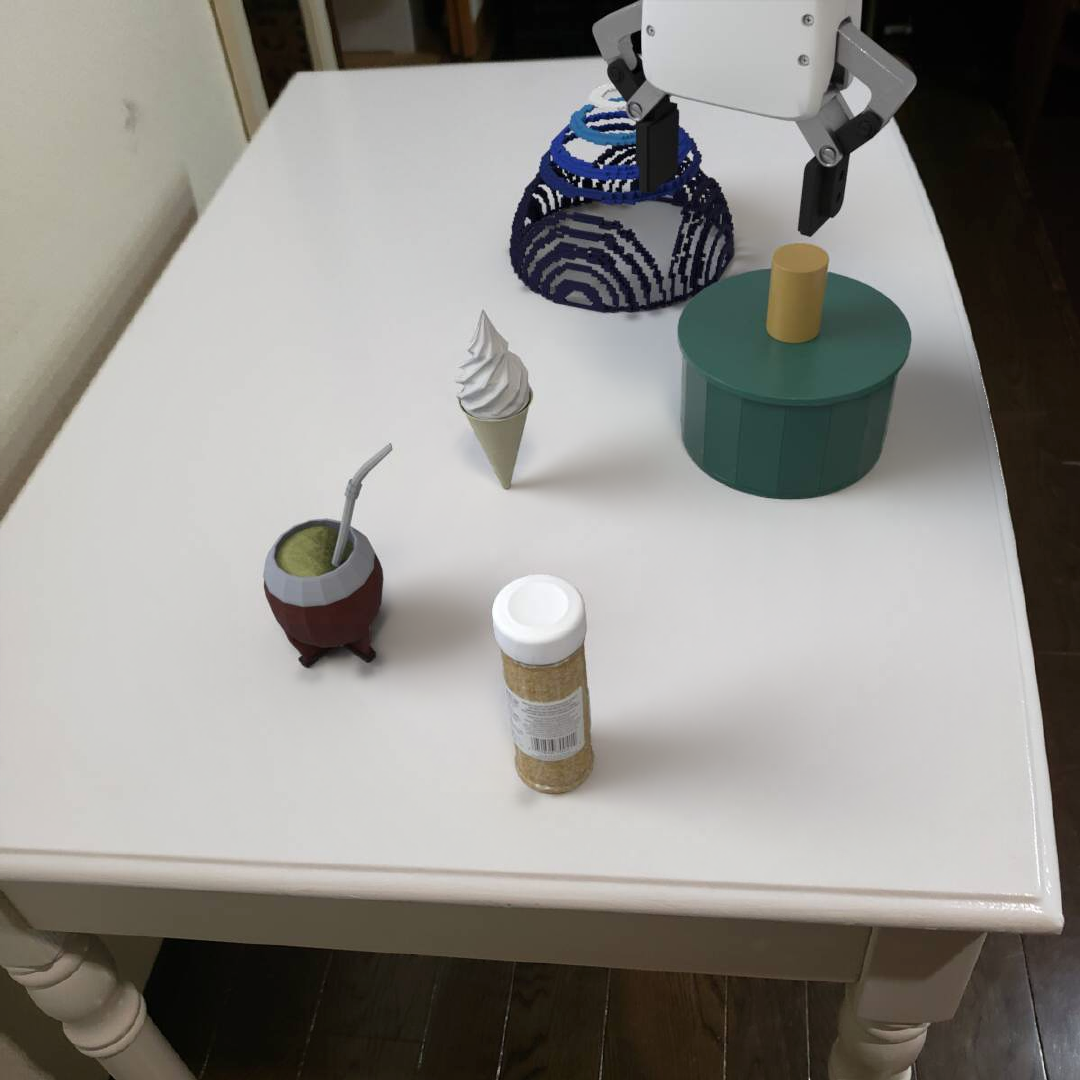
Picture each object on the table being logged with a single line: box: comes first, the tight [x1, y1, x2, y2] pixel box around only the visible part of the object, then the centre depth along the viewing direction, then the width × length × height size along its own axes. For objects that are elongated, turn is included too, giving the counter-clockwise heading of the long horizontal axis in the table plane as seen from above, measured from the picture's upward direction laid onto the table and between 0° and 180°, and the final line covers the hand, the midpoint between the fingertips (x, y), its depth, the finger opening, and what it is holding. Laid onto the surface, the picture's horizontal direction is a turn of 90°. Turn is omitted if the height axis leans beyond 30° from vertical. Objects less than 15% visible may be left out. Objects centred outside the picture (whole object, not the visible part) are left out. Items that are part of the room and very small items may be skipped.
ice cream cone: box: [453, 309, 534, 490], centre depth 75 cm, size 5×5×15 cm
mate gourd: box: [262, 442, 394, 669], centre depth 66 cm, size 8×8×15 cm
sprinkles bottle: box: [491, 573, 595, 794], centre depth 59 cm, size 5×5×13 cm
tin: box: [680, 354, 900, 500], centre depth 79 cm, size 15×15×8 cm
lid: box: [677, 242, 913, 406], centre depth 75 cm, size 16×16×7 cm
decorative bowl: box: [508, 81, 736, 314], centre depth 97 cm, size 20×20×14 cm
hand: (734, 202), depth 61 cm, fingers open, 9 cm apart
